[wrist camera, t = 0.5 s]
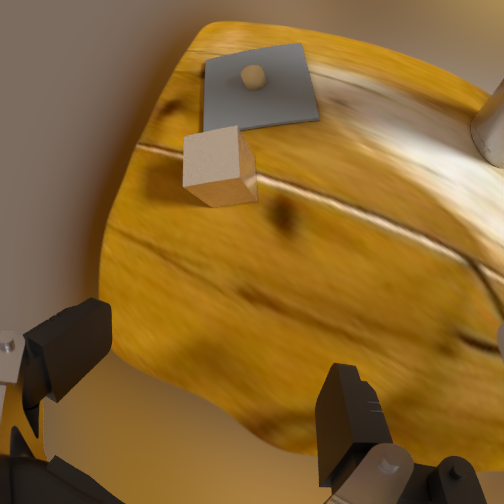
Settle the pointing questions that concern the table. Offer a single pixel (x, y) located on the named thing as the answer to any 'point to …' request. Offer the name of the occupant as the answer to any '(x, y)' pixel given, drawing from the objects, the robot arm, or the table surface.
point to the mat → (258, 89)
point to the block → (219, 167)
